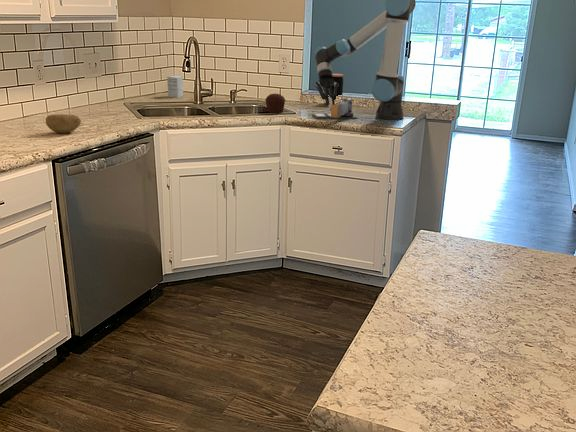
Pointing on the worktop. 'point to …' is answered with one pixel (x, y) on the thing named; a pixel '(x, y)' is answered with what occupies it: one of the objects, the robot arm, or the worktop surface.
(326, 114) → the label tile
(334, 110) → the swing arm
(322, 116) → the label tile
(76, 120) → the brown bowl
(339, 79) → the coffee jar
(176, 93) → the supplement box
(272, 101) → the muffin
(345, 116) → the pivot plinth
